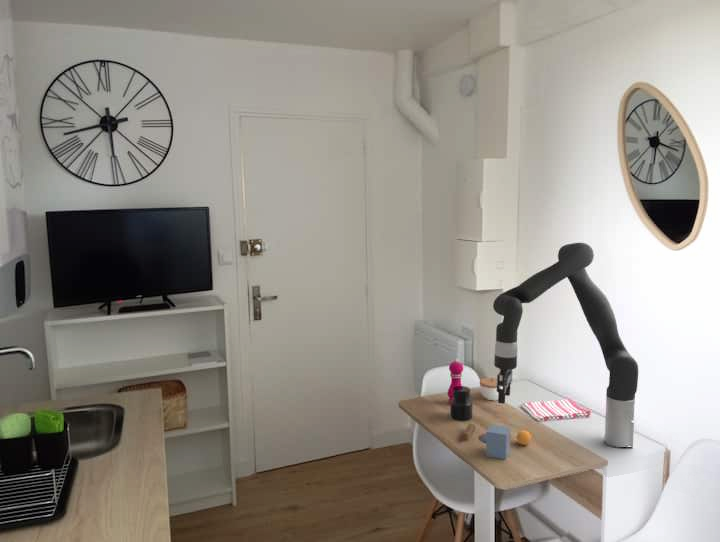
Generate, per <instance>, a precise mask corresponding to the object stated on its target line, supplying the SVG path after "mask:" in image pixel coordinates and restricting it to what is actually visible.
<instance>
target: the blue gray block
mask: <svg viewBox="0 0 720 542" xmlns="http://www.w3.org/2000/svg"><path fill="white" fill-rule="evenodd" d="M485 434H486V443H485V456H486V457H491V458H495V459H503V460H507V458H508V456H509V454H510V451H511V450H510V447H511V446H510V445H511V427H510V426H505V425H504V426H503V425H498V424H490V425H489V426H488V428H487V430H486V433H485Z"/></svg>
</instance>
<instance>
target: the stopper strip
mask: <svg viewBox="0 0 720 542" xmlns="http://www.w3.org/2000/svg"><path fill="white" fill-rule="evenodd" d="M475 427H476V426H475V424H474V423H469V424H468V425H467V426H466V427H465V429H464V431H463V433H462V441H466V442H469V440H470V438H471V437H472V436H473V434H474V432H475V431H474V430H475ZM471 435H472V436H471Z"/></svg>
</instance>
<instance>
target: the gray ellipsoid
mask: <svg viewBox="0 0 720 542" xmlns="http://www.w3.org/2000/svg"><path fill="white" fill-rule="evenodd" d="M478 439H479V440H480V441H481V442H483V443H485V444H486V433H484V434H483V433H482V434H480V435H479V437H478Z"/></svg>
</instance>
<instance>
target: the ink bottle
mask: <svg viewBox="0 0 720 542" xmlns="http://www.w3.org/2000/svg"><path fill="white" fill-rule="evenodd" d="M470 398H471V388H470V387H468V386H463V385H462V386H456V387H454V388H453V399H452V400H451V402H450V404H449V407H450V410H449V412H450V415H449V416H450V418H451V419H452V420H455V421H461V422H467V420H468V421H470V420H472V418H473V410H474V409H473V408H474V407H473V403H474V402H473V401H472V400H471V399H470Z"/></svg>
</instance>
